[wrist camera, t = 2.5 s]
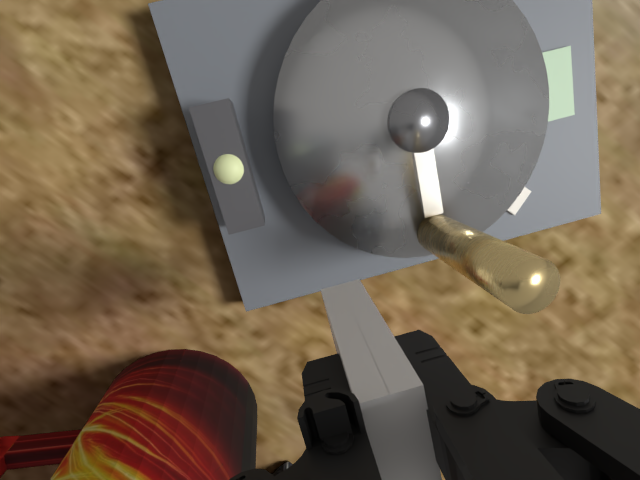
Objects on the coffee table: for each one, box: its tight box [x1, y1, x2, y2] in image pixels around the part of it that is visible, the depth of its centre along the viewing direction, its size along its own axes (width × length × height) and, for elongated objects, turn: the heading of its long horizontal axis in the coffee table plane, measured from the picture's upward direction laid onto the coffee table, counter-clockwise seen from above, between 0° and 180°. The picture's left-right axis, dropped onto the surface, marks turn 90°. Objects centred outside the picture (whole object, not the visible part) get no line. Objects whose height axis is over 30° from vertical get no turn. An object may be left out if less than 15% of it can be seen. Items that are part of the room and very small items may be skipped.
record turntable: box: [148, 0, 601, 311], centre depth 20 cm, size 22×16×4 cm
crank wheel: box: [273, 0, 560, 314], centre depth 16 cm, size 14×14×9 cm
